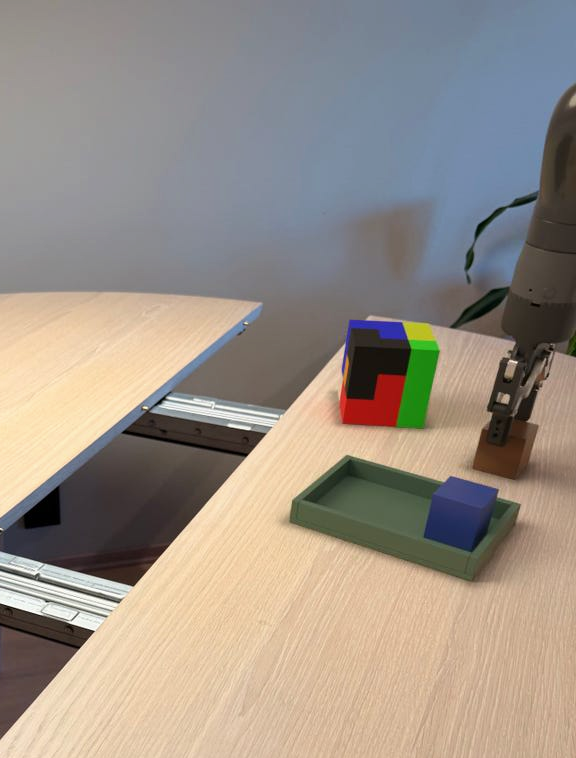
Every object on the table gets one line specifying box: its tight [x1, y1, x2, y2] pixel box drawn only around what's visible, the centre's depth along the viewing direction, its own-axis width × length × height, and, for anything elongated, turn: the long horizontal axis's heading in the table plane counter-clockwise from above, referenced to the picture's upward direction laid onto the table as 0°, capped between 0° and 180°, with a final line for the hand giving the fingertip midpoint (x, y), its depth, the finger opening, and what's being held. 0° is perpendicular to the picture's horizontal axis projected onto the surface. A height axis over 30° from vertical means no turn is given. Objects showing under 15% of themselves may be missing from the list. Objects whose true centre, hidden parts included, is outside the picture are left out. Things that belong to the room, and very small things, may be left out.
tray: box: [288, 454, 522, 582], centre depth 103 cm, size 20×14×3 cm
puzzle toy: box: [337, 319, 441, 429], centre depth 125 cm, size 10×10×10 cm
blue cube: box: [423, 475, 500, 552], centre depth 99 cm, size 5×5×5 cm
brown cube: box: [471, 419, 540, 480], centre depth 114 cm, size 5×5×5 cm
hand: (507, 431), depth 113 cm, fingers open, 8 cm apart
